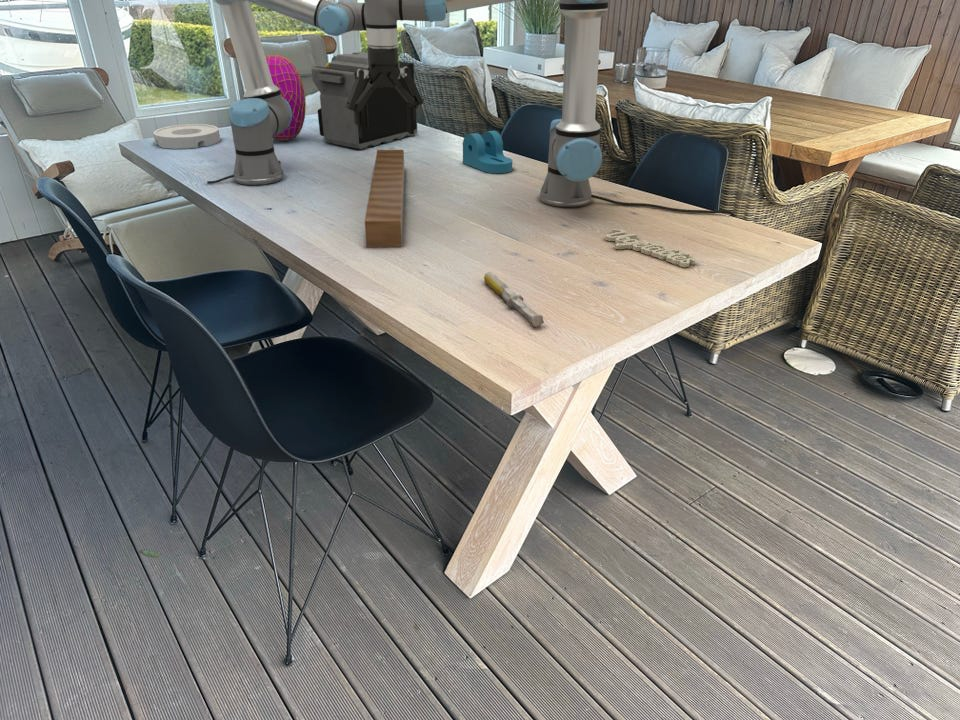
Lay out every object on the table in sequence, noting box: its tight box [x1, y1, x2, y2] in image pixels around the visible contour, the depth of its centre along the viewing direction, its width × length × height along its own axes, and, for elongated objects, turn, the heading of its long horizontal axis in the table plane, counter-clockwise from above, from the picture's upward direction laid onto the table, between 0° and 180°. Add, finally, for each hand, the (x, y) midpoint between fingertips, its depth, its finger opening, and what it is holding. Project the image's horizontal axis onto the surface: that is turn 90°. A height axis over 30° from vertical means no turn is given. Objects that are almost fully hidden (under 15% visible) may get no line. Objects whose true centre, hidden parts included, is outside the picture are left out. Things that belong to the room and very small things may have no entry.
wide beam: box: [364, 149, 406, 248], centre depth 198 cm, size 71×9×7 cm, turn 5°
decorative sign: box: [605, 228, 696, 268], centre depth 169 cm, size 26×1×10 cm
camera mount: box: [462, 130, 513, 174], centre depth 231 cm, size 18×10×10 cm, turn 35°
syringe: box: [483, 271, 545, 328], centre depth 142 cm, size 25×4×3 cm, turn 21°
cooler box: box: [311, 51, 418, 150], centre depth 260 cm, size 37×22×30 cm, turn 144°
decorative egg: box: [265, 54, 307, 142], centre depth 257 cm, size 19×19×30 cm
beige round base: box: [152, 123, 221, 150], centre depth 260 cm, size 23×23×4 cm
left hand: (388, 125), depth 218 cm, fingers open, 13 cm apart
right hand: (386, 135), depth 180 cm, fingers open, 13 cm apart
